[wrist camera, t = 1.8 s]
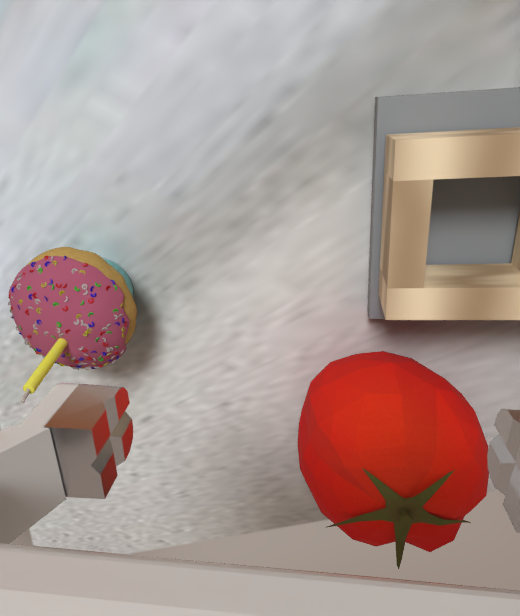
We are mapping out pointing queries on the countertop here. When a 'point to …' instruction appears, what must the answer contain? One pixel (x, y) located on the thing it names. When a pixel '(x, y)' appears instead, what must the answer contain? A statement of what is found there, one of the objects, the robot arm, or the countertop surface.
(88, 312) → the cupcake
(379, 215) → the slate track
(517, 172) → the square wooden frame
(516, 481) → the robot arm
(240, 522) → the countertop surface
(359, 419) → the tomato
